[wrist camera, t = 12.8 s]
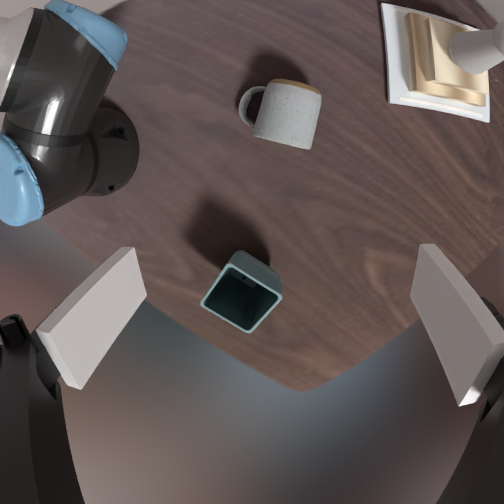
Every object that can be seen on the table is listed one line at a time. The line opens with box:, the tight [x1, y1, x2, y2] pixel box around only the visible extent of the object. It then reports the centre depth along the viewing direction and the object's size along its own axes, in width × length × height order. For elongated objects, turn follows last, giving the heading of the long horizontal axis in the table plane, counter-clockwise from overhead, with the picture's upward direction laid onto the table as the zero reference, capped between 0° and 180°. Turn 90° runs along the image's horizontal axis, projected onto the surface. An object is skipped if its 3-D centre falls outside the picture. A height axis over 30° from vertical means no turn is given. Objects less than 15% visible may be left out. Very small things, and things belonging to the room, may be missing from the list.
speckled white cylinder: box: [239, 79, 321, 149], centre depth 35 cm, size 11×8×8 cm
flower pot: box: [200, 250, 282, 333], centre depth 45 cm, size 9×9×9 cm
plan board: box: [380, 3, 489, 122], centre depth 30 cm, size 18×16×1 cm
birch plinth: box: [403, 12, 489, 107], centre depth 26 cm, size 12×12×6 cm
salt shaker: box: [448, 22, 504, 75], centre depth 18 cm, size 6×6×13 cm
